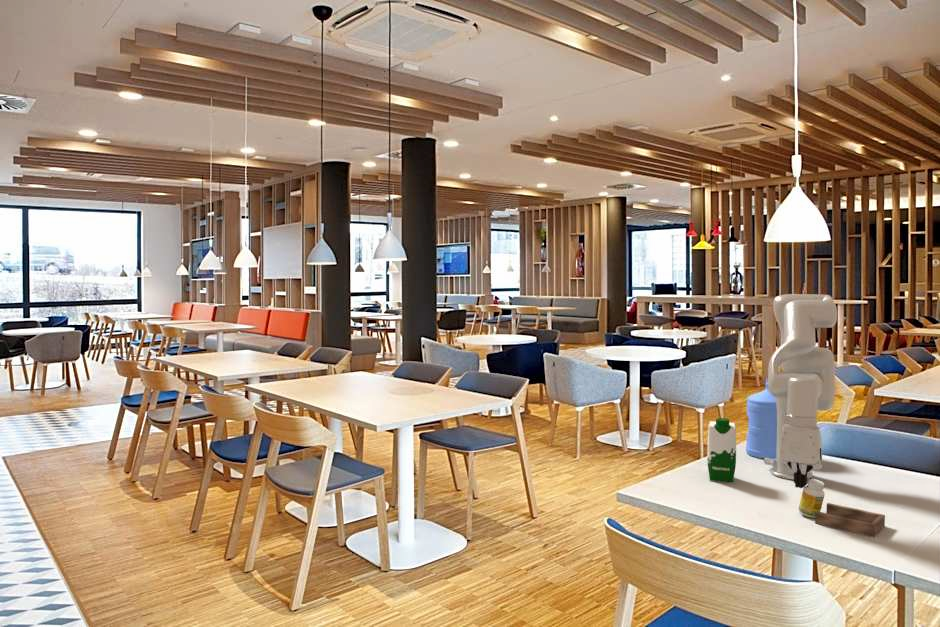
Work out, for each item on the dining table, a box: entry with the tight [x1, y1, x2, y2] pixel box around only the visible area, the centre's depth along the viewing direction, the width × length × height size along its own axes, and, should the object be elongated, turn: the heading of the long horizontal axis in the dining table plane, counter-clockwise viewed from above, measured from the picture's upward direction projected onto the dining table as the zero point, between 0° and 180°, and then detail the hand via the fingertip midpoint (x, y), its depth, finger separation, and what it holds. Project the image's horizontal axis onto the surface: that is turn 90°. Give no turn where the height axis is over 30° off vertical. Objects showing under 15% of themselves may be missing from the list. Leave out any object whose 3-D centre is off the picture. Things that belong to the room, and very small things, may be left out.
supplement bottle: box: [798, 478, 826, 519], centre depth 192 cm, size 5×5×10 cm
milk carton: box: [706, 417, 737, 484], centre depth 226 cm, size 9×9×20 cm
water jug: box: [745, 378, 777, 459], centre depth 255 cm, size 16×16×28 cm
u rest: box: [814, 502, 886, 538], centre depth 186 cm, size 14×10×3 cm
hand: (800, 486), depth 194 cm, fingers closed
